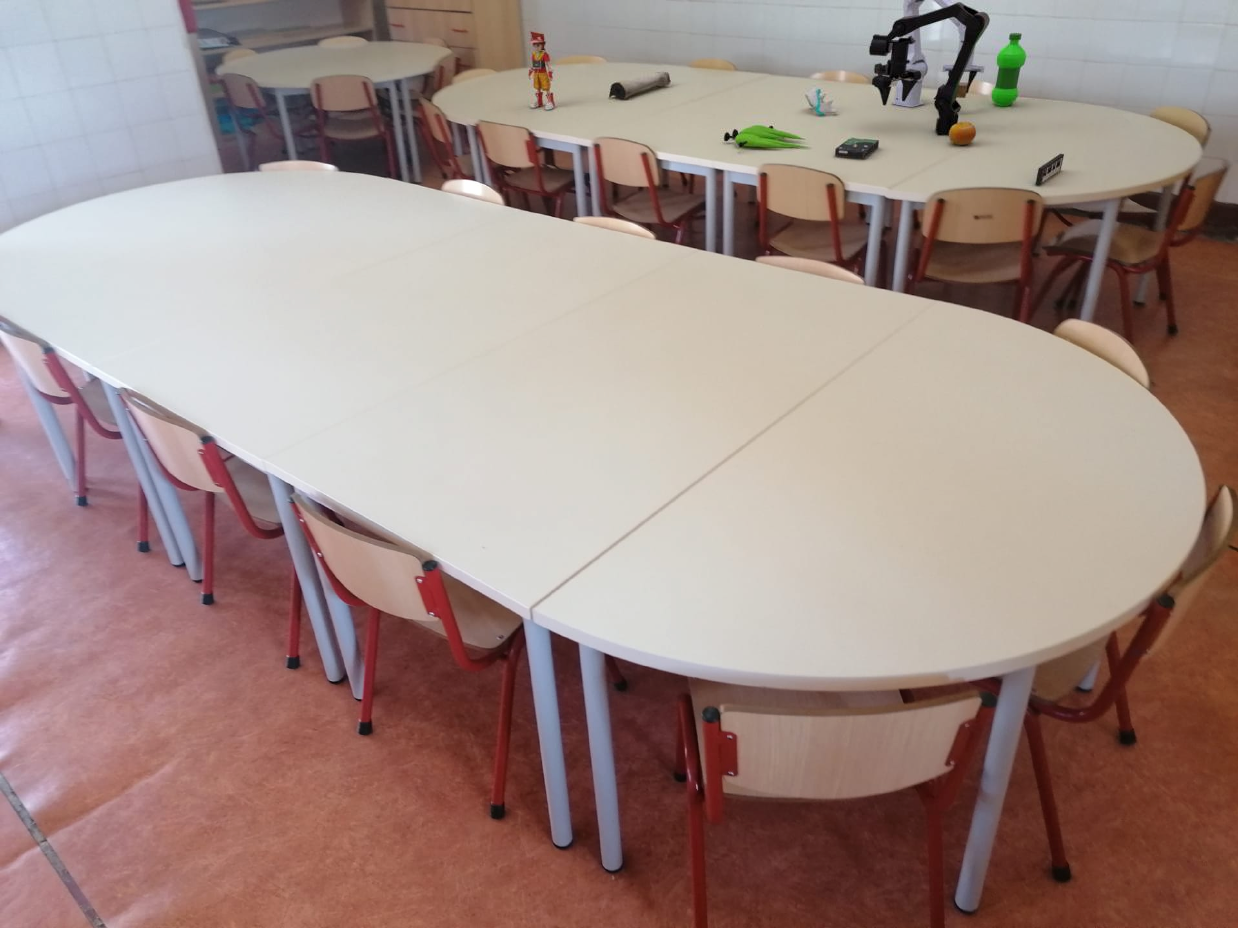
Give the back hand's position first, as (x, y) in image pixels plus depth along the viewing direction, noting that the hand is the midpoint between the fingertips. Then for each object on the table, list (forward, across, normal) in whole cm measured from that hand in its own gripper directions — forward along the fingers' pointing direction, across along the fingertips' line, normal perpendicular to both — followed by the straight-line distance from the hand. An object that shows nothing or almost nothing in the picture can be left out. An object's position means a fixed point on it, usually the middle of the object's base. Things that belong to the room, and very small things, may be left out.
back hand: (959, 92), depth 337 cm
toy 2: (+8, +59, +54) cm, 81 cm away
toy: (+7, +167, +20) cm, 168 cm away
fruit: (+8, -5, +42) cm, 43 cm away
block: (+1, 0, 0) cm, 1 cm away
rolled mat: (+7, +134, -14) cm, 135 cm away
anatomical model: (+8, +51, +7) cm, 52 cm away
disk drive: (+8, +27, +59) cm, 65 cm away
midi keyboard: (+8, -34, +74) cm, 81 cm away
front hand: (-1, +21, +25) cm, 32 cm away
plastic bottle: (+8, -16, -16) cm, 23 cm away
